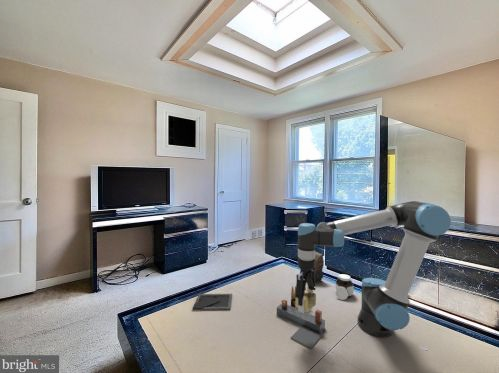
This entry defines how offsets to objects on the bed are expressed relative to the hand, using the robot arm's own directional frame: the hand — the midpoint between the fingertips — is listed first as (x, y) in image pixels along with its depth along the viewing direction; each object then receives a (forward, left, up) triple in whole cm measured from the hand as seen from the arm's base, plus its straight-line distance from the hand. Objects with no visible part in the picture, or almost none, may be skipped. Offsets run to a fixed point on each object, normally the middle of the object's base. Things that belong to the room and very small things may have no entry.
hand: (305, 307), depth 103 cm
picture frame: (+55, +8, -15) cm, 57 cm away
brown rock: (+23, -56, -14) cm, 62 cm away
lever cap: (0, 0, +1) cm, 1 cm away
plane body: (+8, -9, -14) cm, 19 cm away
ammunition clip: (+14, -21, -14) cm, 29 cm away
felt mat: (0, 0, -14) cm, 14 cm away
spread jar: (-1, -49, -14) cm, 51 cm away
